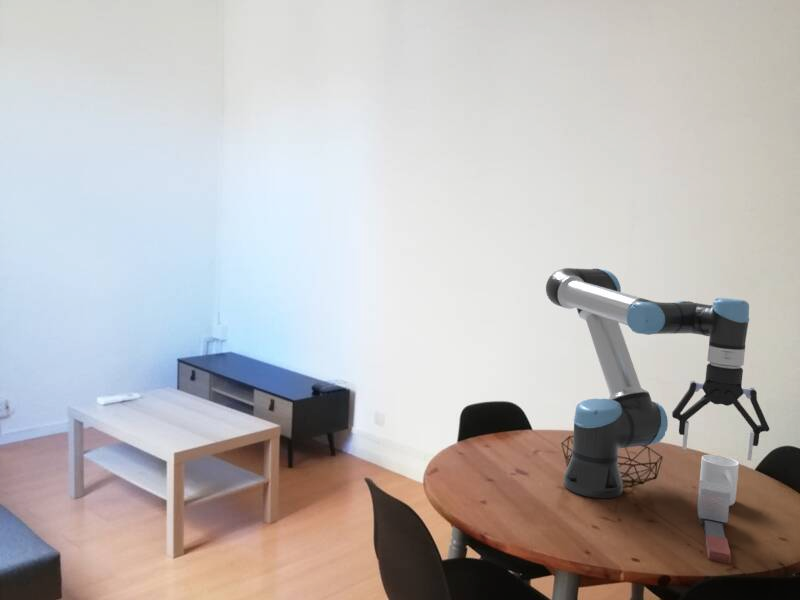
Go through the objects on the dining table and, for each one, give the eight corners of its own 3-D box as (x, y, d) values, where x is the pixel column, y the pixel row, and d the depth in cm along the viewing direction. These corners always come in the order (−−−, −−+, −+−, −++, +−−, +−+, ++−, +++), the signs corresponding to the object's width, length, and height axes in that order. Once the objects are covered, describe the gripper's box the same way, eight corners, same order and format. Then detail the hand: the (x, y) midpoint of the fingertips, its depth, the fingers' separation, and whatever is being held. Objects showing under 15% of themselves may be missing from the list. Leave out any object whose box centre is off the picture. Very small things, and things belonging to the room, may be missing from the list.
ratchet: (732, 564, 126) (735, 536, 126) (705, 558, 128) (708, 531, 128) (721, 520, 147) (724, 496, 147) (698, 516, 149) (700, 492, 149)
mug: (711, 510, 153) (714, 469, 152) (693, 492, 165) (696, 453, 164) (747, 513, 152) (751, 471, 151) (726, 494, 164) (730, 455, 163)
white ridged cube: (698, 517, 144) (701, 488, 143) (697, 508, 149) (699, 480, 149) (727, 522, 142) (730, 493, 141) (724, 513, 147) (727, 484, 146)
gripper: (667, 361, 144) (658, 448, 146) (790, 374, 135) (779, 468, 137) (666, 356, 151) (658, 439, 153) (783, 369, 142) (773, 457, 144)
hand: (715, 453), depth 145 cm, fingers open, 13 cm apart
